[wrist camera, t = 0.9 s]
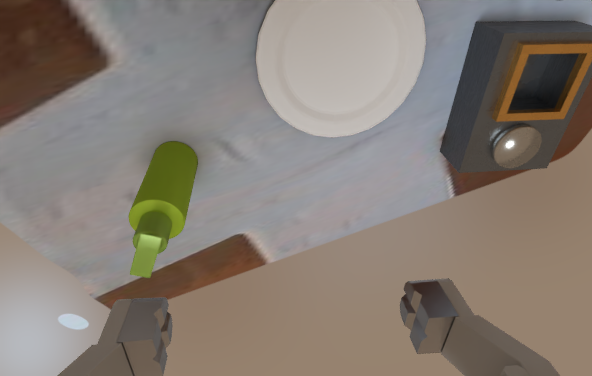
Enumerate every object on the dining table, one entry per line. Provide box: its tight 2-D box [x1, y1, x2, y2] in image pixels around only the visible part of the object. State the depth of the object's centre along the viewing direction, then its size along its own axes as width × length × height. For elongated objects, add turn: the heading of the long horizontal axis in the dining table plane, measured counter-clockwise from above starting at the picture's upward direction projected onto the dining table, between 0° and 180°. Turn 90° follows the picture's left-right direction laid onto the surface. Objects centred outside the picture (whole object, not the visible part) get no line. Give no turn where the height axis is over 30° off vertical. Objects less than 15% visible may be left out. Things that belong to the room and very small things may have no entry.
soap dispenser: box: [129, 141, 198, 278], centre depth 42 cm, size 6×7×20 cm
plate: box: [256, 0, 426, 138], centre depth 44 cm, size 21×21×2 cm
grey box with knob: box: [440, 21, 592, 173], centre depth 47 cm, size 18×13×7 cm
